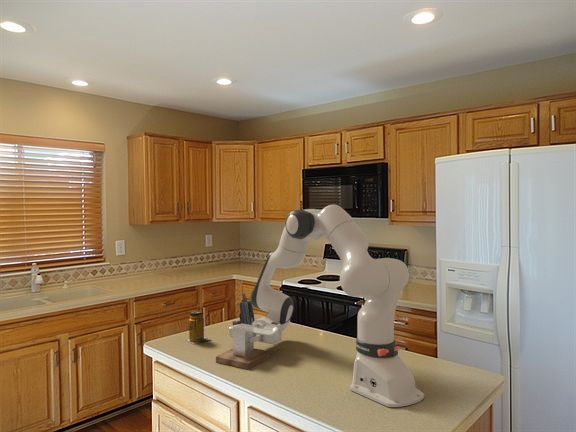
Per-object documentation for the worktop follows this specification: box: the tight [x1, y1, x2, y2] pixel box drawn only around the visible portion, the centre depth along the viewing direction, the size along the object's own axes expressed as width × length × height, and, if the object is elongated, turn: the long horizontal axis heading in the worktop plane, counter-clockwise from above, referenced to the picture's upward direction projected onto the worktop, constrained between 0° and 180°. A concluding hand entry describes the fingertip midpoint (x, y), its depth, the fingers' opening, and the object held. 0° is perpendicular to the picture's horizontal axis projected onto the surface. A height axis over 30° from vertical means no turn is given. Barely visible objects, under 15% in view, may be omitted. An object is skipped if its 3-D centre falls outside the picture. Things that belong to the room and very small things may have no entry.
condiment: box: [186, 310, 212, 345], centre depth 174 cm, size 7×8×12 cm
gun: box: [232, 293, 256, 326], centre depth 189 cm, size 3×17×15 cm
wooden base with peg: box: [215, 348, 271, 370], centre depth 151 cm, size 14×14×7 cm
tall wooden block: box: [232, 324, 255, 357], centre depth 151 cm, size 5×5×10 cm
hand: (241, 339), depth 150 cm, fingers closed on tall wooden block, 5 cm apart
